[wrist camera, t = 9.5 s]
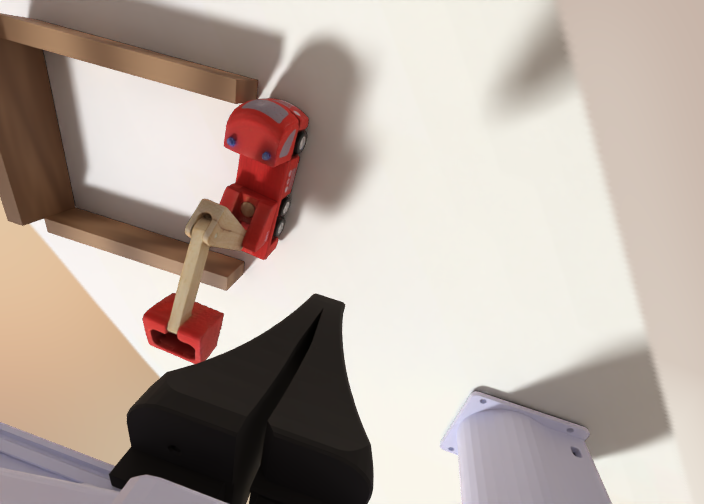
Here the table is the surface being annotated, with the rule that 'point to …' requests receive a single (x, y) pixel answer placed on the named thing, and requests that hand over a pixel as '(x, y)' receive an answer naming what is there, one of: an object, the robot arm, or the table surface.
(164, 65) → the bay
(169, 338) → the toy fire truck
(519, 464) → the robot arm
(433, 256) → the table surface
